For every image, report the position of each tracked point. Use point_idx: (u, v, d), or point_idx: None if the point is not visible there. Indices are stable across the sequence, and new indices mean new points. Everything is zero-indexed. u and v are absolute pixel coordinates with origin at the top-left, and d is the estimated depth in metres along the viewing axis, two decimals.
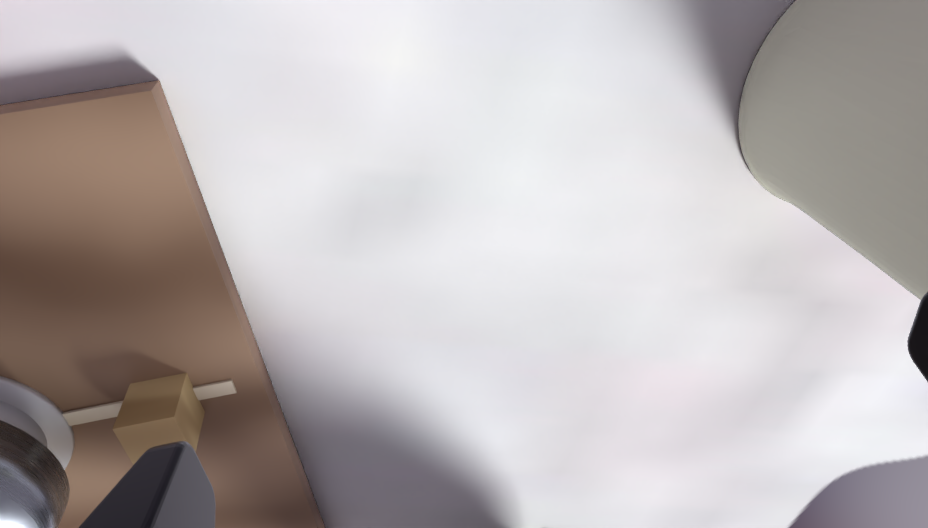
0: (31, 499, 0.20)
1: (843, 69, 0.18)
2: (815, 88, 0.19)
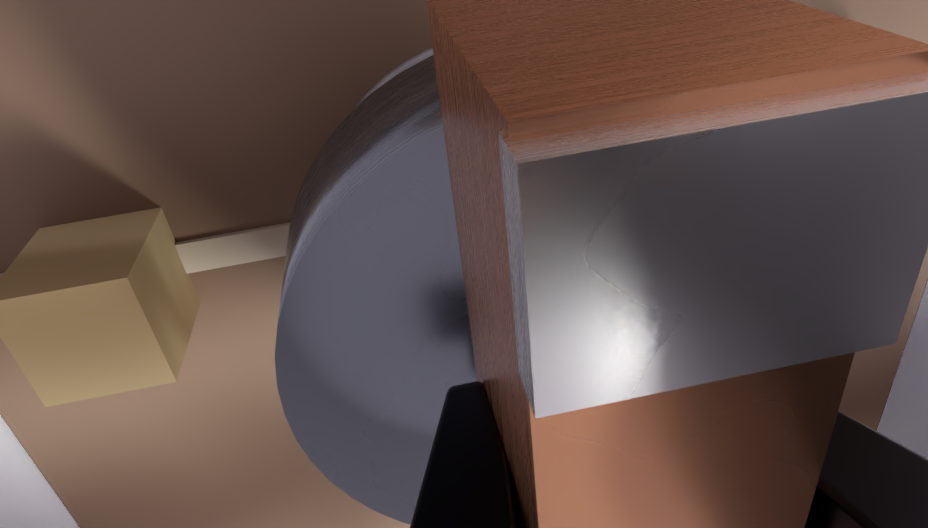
0: None
1: None
2: None
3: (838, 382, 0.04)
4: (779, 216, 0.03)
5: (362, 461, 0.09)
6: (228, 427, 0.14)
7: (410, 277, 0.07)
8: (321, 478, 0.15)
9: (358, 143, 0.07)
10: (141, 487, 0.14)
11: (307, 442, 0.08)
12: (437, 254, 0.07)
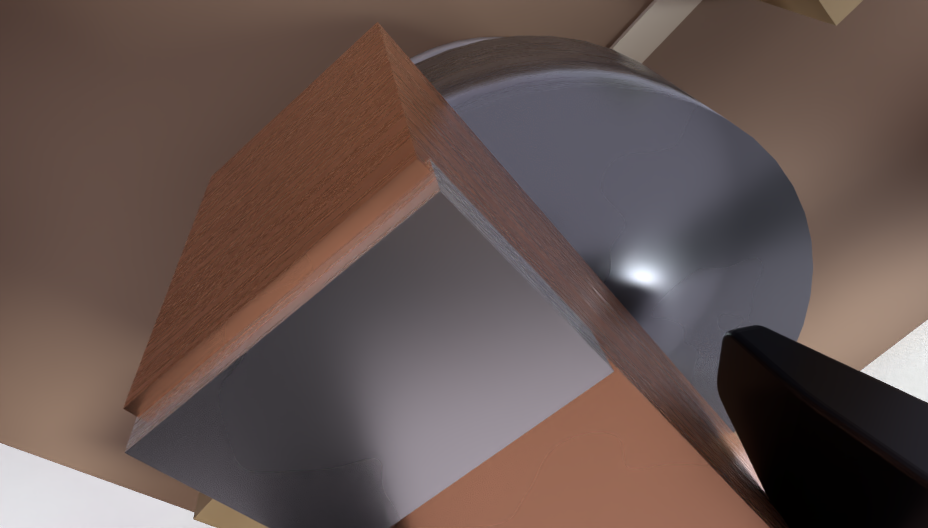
0: None
1: None
2: None
3: (631, 395, 0.04)
4: (372, 365, 0.03)
5: None
6: None
7: None
8: None
9: None
10: None
11: None
12: None
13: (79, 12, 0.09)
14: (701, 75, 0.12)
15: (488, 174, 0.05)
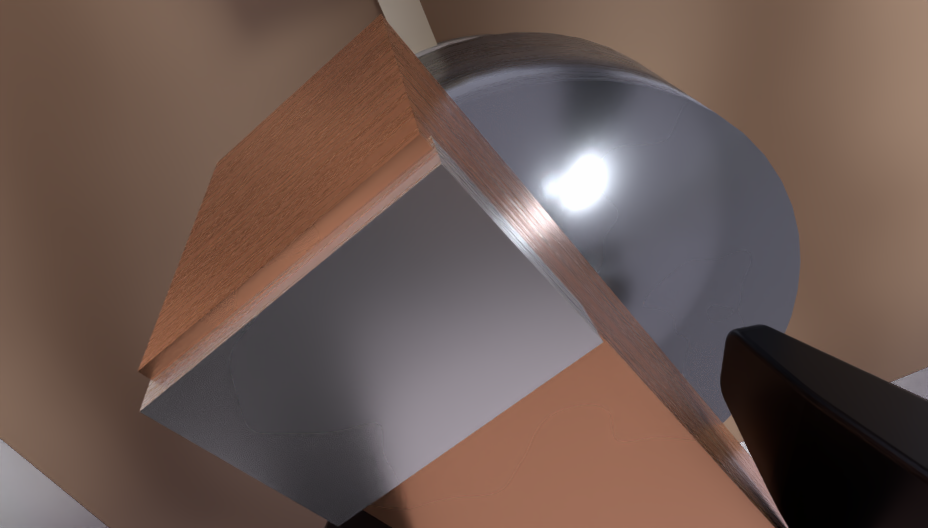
0: None
1: None
2: None
3: (620, 370, 0.05)
4: (375, 331, 0.04)
5: None
6: None
7: None
8: (815, 250, 0.14)
9: None
10: None
11: None
12: None
13: None
14: None
15: (486, 160, 0.05)
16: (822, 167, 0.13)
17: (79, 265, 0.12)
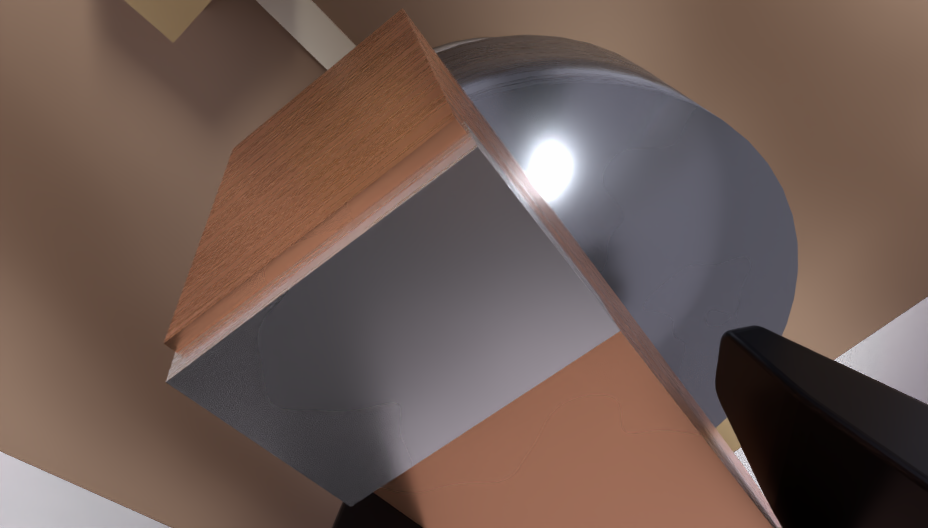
0: None
1: None
2: None
3: (633, 360, 0.05)
4: (401, 310, 0.04)
5: None
6: (799, 248, 0.14)
7: None
8: (861, 137, 0.13)
9: None
10: (882, 272, 0.15)
11: None
12: None
13: None
14: None
15: (503, 154, 0.06)
16: (836, 51, 0.12)
17: (157, 364, 0.13)
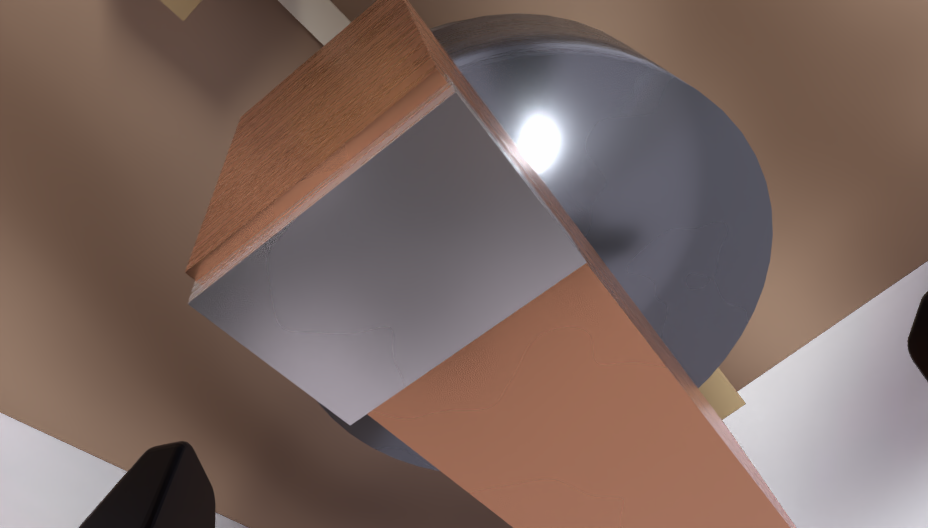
0: None
1: None
2: None
3: (602, 294, 0.05)
4: (392, 240, 0.04)
5: None
6: (784, 224, 0.15)
7: None
8: (843, 116, 0.14)
9: None
10: (866, 248, 0.16)
11: (380, 446, 0.10)
12: None
13: (301, 405, 0.15)
14: None
15: (488, 116, 0.06)
16: (817, 32, 0.13)
17: (167, 336, 0.14)
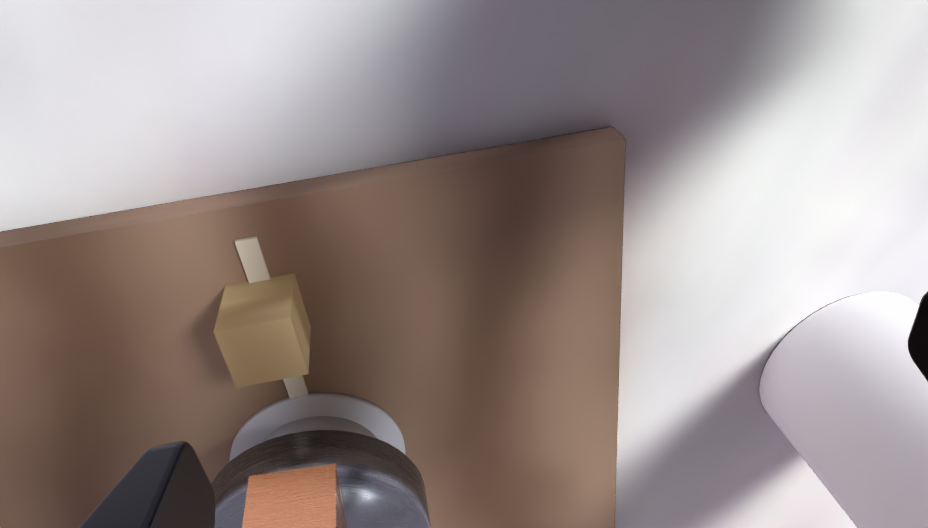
0: None
1: None
2: None
3: None
4: None
5: None
6: None
7: None
8: (504, 499, 0.26)
9: (232, 489, 0.18)
10: None
11: None
12: None
13: None
14: (332, 357, 0.21)
15: None
16: (508, 463, 0.25)
17: (89, 459, 0.21)
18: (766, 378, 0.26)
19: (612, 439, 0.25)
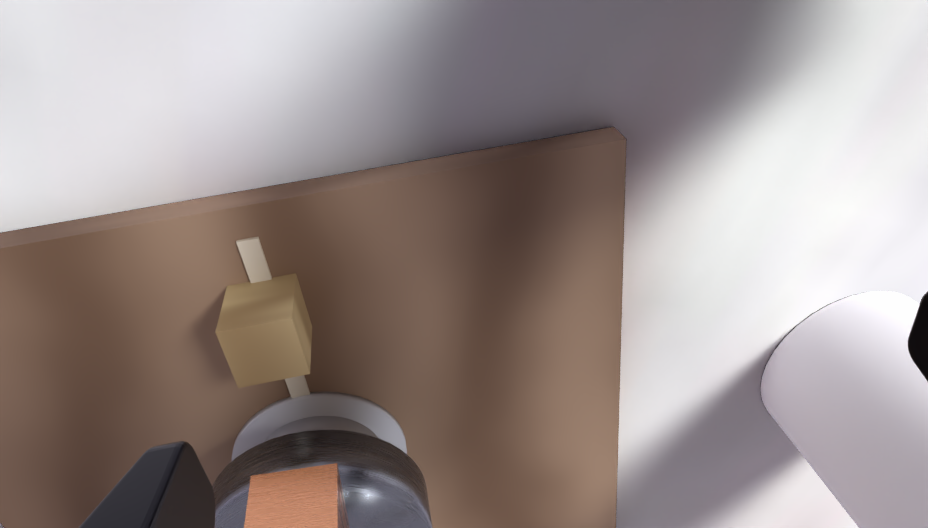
0: None
1: None
2: None
3: None
4: None
5: None
6: None
7: None
8: (506, 498, 0.26)
9: (234, 489, 0.18)
10: None
11: None
12: None
13: None
14: (334, 357, 0.21)
15: None
16: (509, 462, 0.25)
17: (92, 458, 0.21)
18: (767, 377, 0.26)
19: (613, 438, 0.25)
